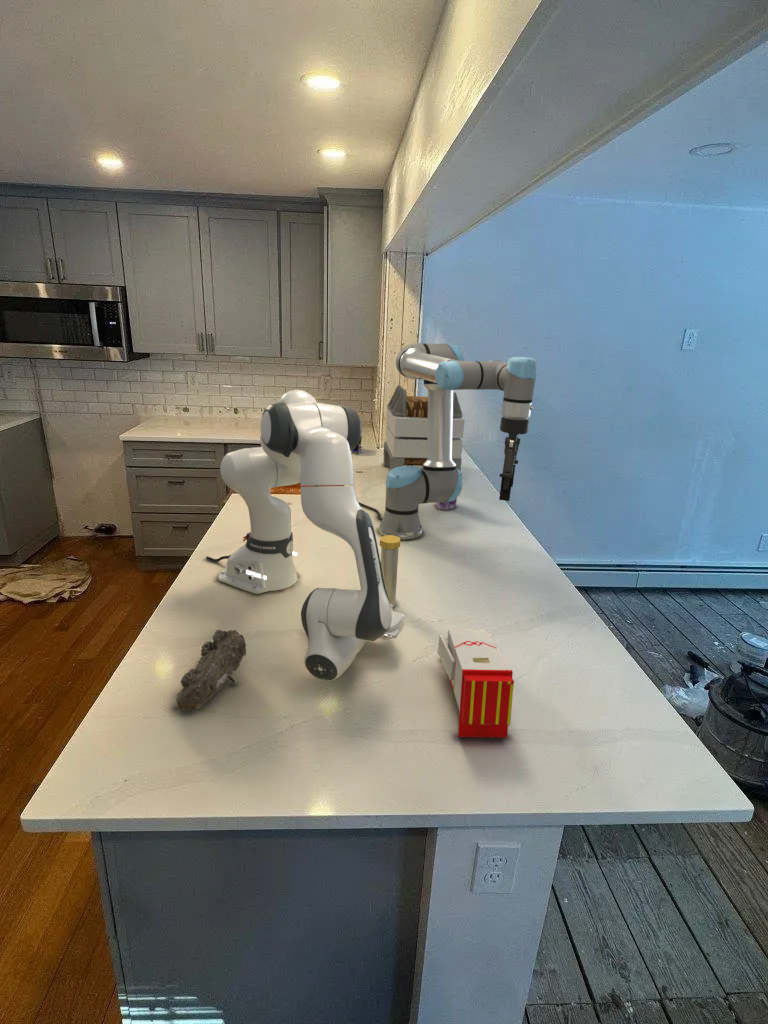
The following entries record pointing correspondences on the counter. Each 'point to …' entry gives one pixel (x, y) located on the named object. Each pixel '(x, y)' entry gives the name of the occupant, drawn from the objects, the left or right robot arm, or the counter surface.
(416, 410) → the grey slatted box
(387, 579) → the beige cylinder
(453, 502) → the figurine
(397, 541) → the lid
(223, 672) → the fossil
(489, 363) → the right robot arm
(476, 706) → the toy
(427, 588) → the counter surface
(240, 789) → the counter surface
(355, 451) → the figurine character
